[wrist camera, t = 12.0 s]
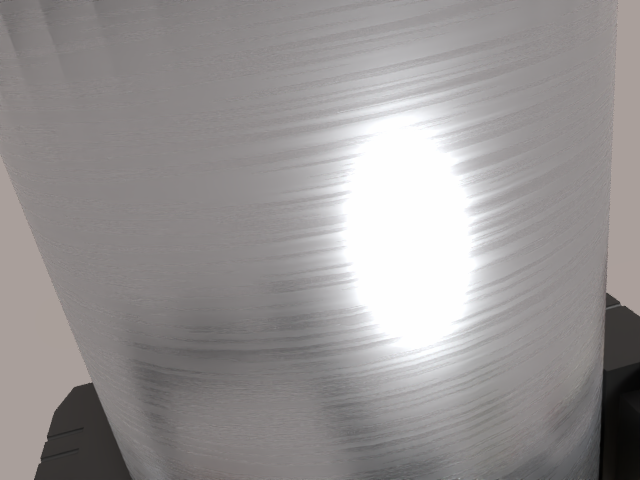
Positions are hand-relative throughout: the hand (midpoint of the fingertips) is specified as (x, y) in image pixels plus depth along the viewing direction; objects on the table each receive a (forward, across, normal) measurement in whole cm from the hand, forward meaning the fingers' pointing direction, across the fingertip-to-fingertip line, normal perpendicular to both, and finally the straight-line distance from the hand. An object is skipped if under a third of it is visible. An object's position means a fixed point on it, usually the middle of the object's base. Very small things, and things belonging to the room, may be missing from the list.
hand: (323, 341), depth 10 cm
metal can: (-3, 0, +8) cm, 8 cm away
